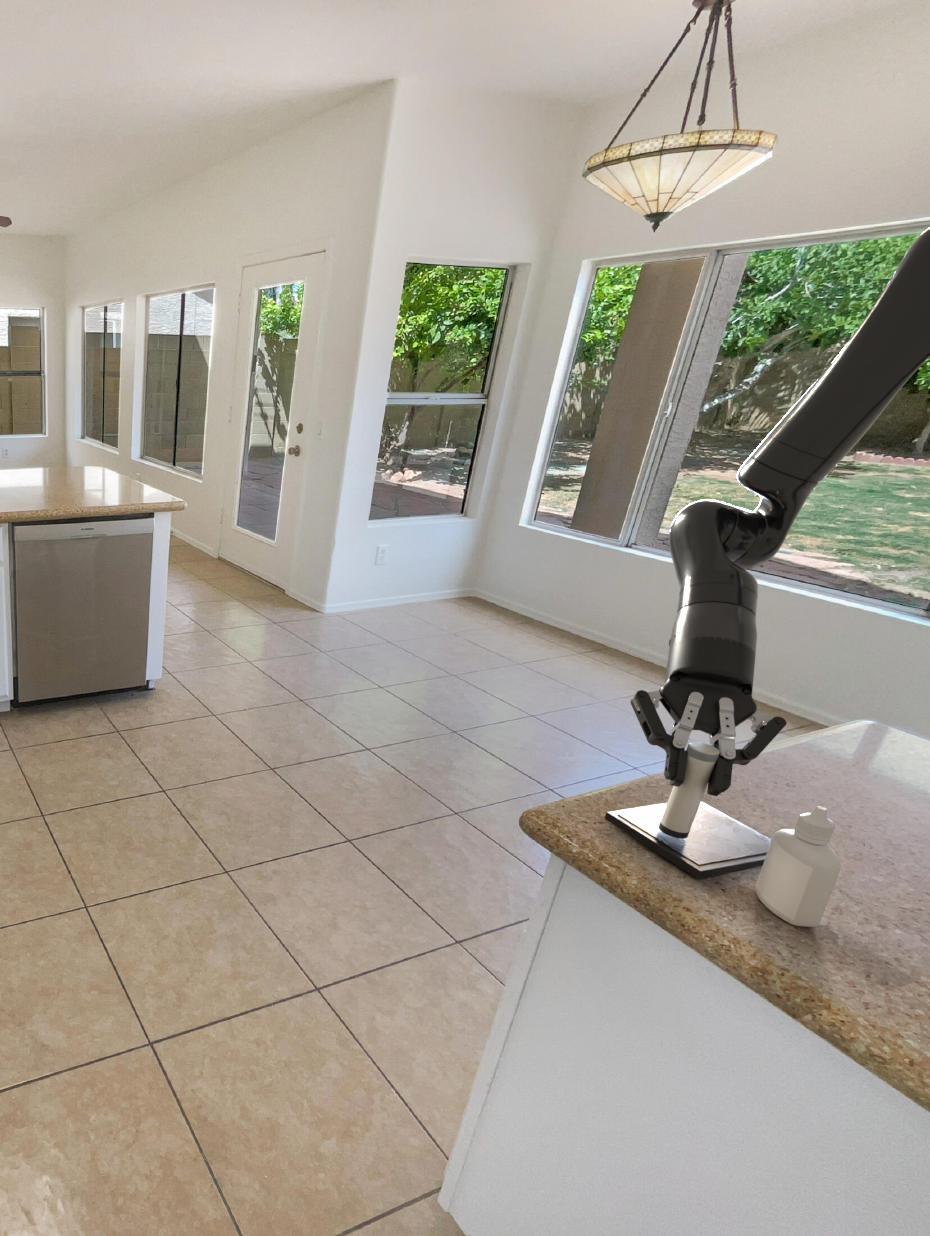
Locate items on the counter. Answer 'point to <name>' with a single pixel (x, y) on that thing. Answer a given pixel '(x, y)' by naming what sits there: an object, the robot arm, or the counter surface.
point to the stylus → (689, 790)
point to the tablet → (697, 840)
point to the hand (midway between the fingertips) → (695, 788)
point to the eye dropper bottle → (800, 870)
